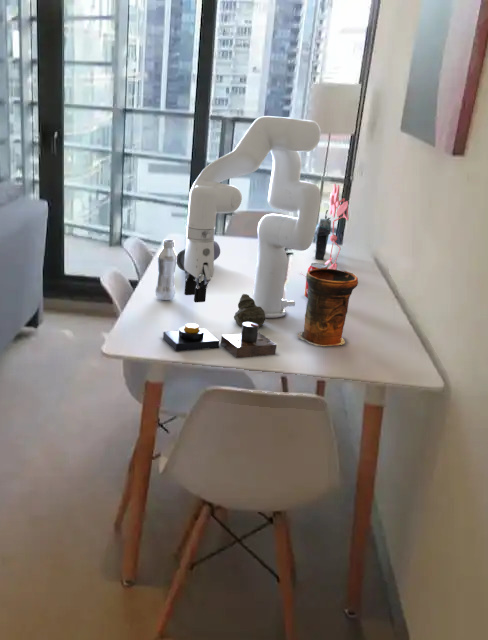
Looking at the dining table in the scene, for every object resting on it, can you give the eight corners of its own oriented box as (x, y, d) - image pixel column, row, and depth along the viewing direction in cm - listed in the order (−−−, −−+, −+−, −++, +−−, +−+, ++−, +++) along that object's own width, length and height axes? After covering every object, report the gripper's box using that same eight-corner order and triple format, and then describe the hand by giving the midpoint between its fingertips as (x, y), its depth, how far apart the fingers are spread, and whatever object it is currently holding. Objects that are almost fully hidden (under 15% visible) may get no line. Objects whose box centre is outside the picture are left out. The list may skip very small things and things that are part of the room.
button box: (204, 335, 211) (205, 323, 209) (218, 347, 202) (220, 334, 201) (163, 338, 207) (163, 325, 205) (175, 351, 198) (177, 337, 197)
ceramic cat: (325, 261, 303) (333, 213, 295) (310, 259, 304) (317, 212, 296) (326, 251, 320) (334, 206, 312) (311, 249, 322) (318, 204, 314)
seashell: (265, 299, 226) (233, 296, 227) (272, 288, 215) (238, 286, 215) (263, 334, 224) (231, 331, 225) (269, 325, 213) (235, 322, 213)
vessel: (317, 351, 203) (328, 282, 195) (287, 334, 215) (296, 269, 207) (357, 345, 209) (369, 279, 201) (325, 329, 221) (336, 266, 213)
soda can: (299, 298, 251) (304, 264, 246) (309, 294, 256) (314, 261, 251) (318, 302, 247) (323, 268, 242) (327, 298, 252) (333, 265, 247)
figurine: (333, 268, 293) (348, 180, 279) (345, 285, 269) (362, 190, 255) (295, 265, 294) (308, 177, 280) (304, 282, 270) (318, 187, 257)
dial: (237, 339, 200) (239, 323, 198) (246, 335, 203) (248, 319, 202) (251, 343, 198) (253, 327, 196) (259, 339, 201) (261, 323, 199)
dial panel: (258, 342, 208) (259, 331, 207) (275, 354, 199) (276, 344, 198) (220, 345, 204) (221, 334, 203) (236, 357, 196) (237, 347, 194)
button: (195, 328, 206) (195, 322, 205) (200, 333, 202) (201, 327, 201) (182, 329, 204) (182, 323, 204) (187, 334, 201) (188, 328, 200)
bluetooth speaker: (195, 276, 271) (198, 250, 267) (174, 272, 275) (176, 246, 272) (220, 265, 289) (223, 240, 285) (199, 261, 293) (201, 237, 289)
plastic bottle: (173, 303, 239) (177, 243, 231) (153, 301, 240) (157, 241, 232) (175, 297, 245) (180, 239, 237) (156, 295, 246) (160, 237, 238)
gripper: (227, 240, 186) (220, 307, 193) (200, 226, 201) (194, 288, 208) (200, 241, 184) (194, 308, 191) (175, 227, 199) (170, 290, 206)
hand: (194, 297), depth 199 cm, fingers open, 6 cm apart
